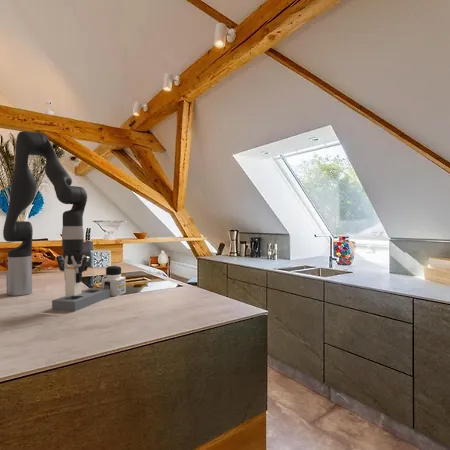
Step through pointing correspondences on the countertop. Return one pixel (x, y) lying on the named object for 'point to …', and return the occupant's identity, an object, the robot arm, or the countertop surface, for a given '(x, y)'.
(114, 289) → the container
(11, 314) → the countertop surface
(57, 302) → the panel
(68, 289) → the plug peg
